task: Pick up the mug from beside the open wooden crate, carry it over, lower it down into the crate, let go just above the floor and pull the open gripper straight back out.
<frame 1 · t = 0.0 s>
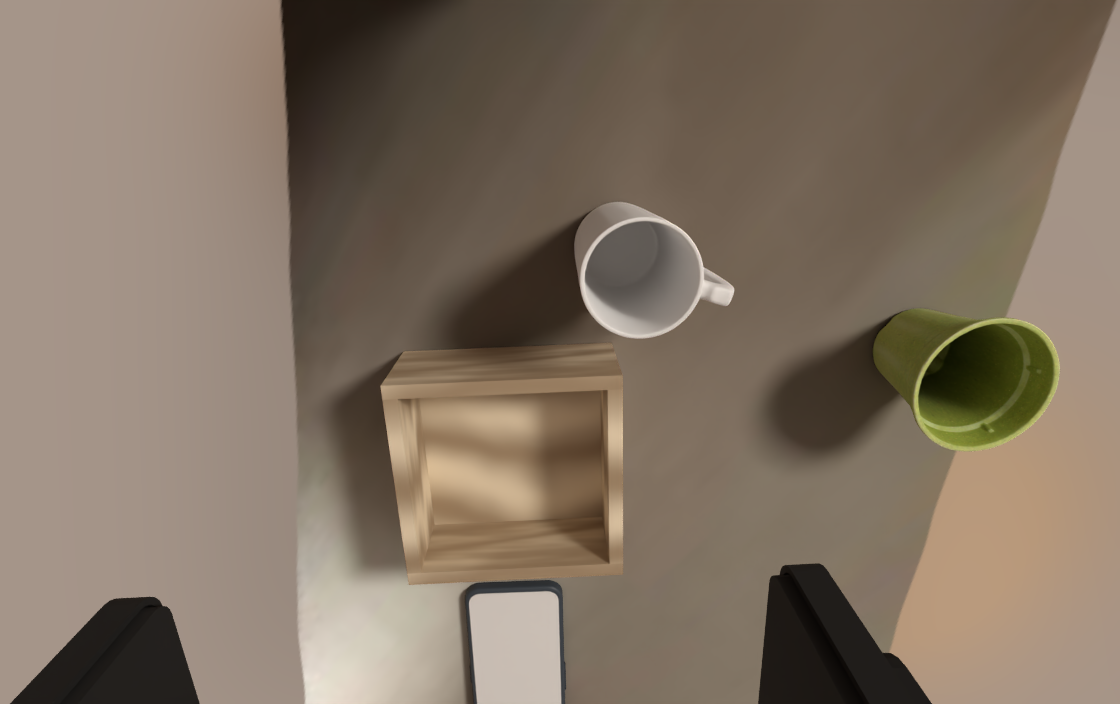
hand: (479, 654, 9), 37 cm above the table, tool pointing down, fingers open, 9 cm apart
plant pot: (908, 345, 48), on the table
smartphone: (517, 646, 57), on the table
open wooden crate: (513, 440, 49), on the table
mug: (637, 250, 45), on the table
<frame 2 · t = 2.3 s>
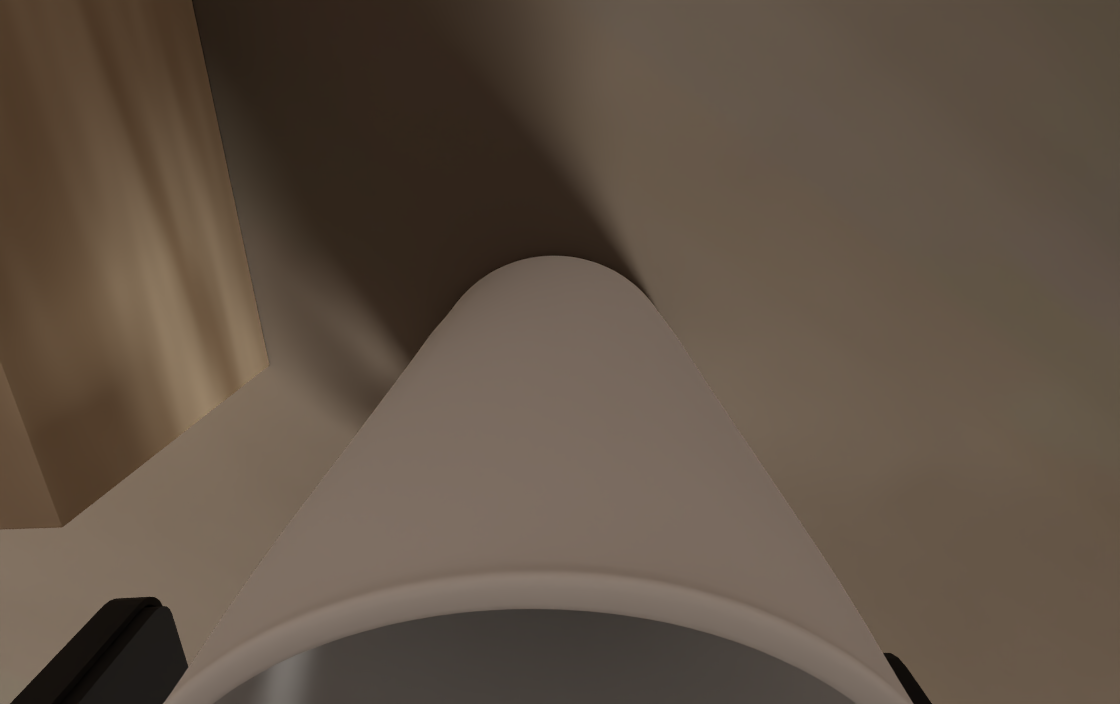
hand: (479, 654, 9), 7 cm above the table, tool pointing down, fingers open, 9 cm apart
mug: (539, 421, 17), on the table
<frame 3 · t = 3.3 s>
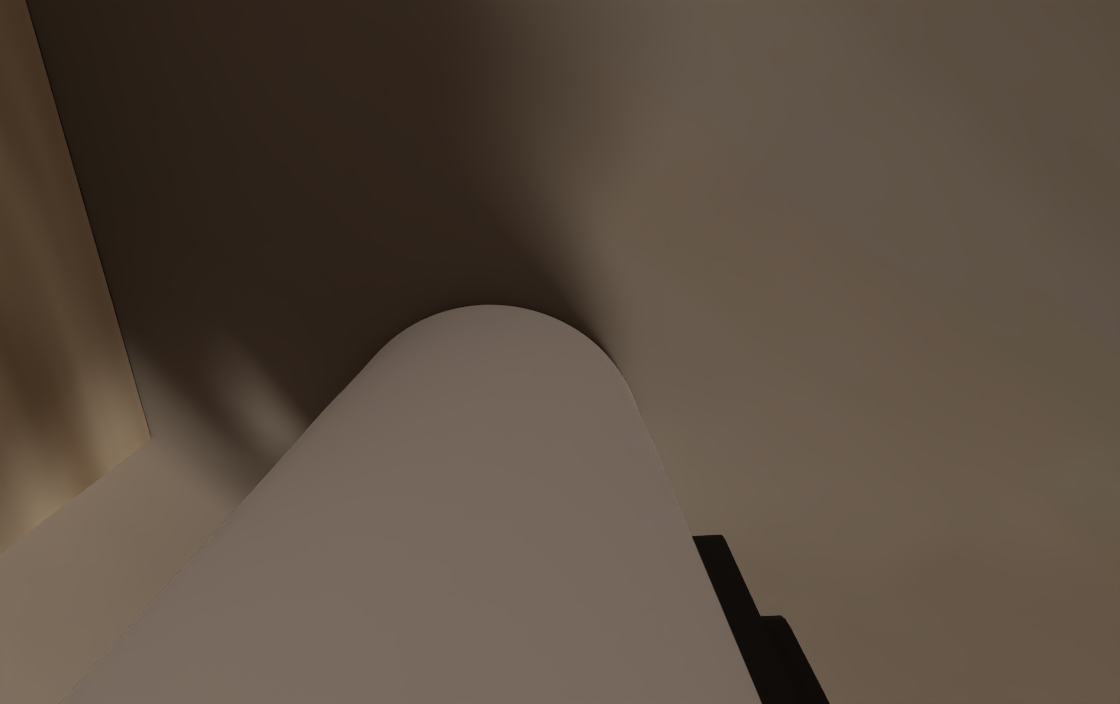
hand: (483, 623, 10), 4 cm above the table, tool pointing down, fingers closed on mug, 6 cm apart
mug: (480, 500, 14), on the table, touching gripper
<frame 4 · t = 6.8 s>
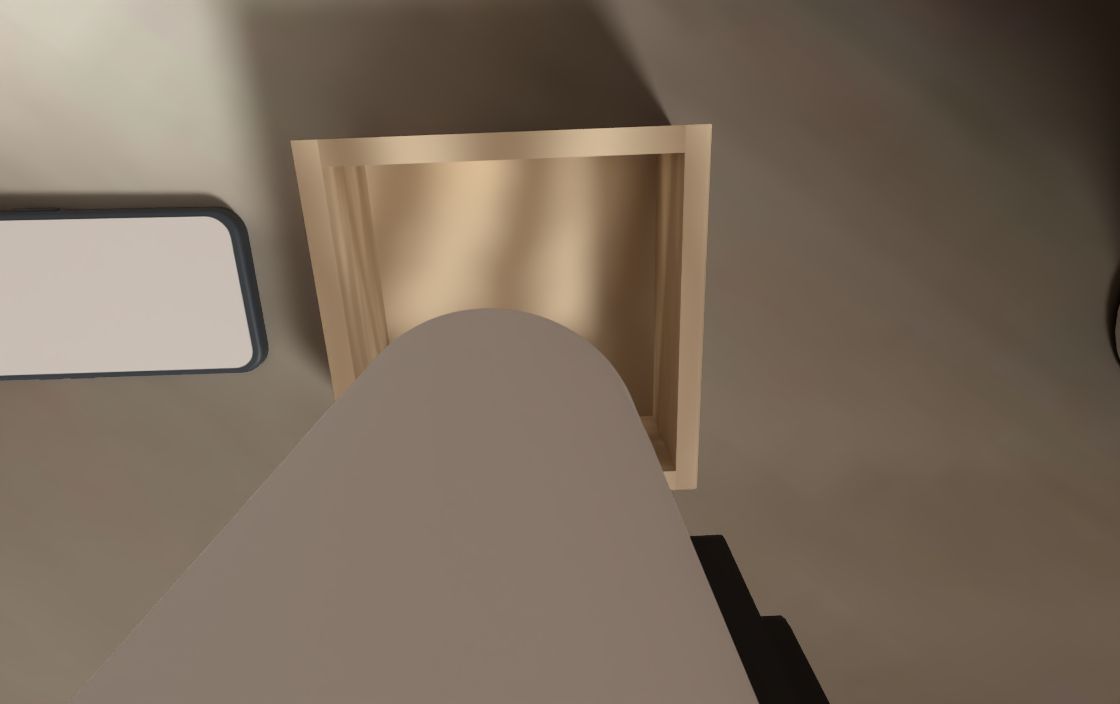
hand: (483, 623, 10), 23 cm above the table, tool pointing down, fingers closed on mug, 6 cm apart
smartphone: (111, 291, 32), on the table
open wooden crate: (520, 294, 32), on the table
mug: (479, 503, 14), point 20 cm above the table, touching gripper
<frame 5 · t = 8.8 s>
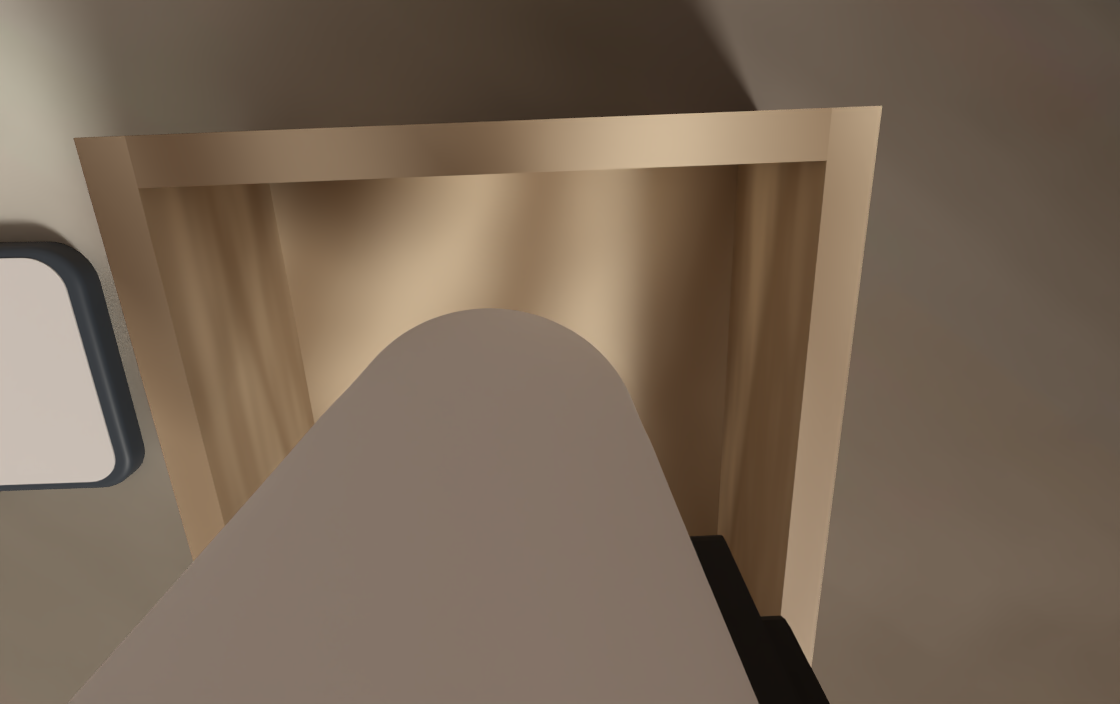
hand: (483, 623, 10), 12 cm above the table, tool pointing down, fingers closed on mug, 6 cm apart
open wooden crate: (519, 372, 21), on the table
mug: (479, 503, 14), point 8 cm above the table, touching gripper
when the fingers open (6 cm above the table, at t = 10.5 s): mug drops 1 cm, resting on open wooden crate.
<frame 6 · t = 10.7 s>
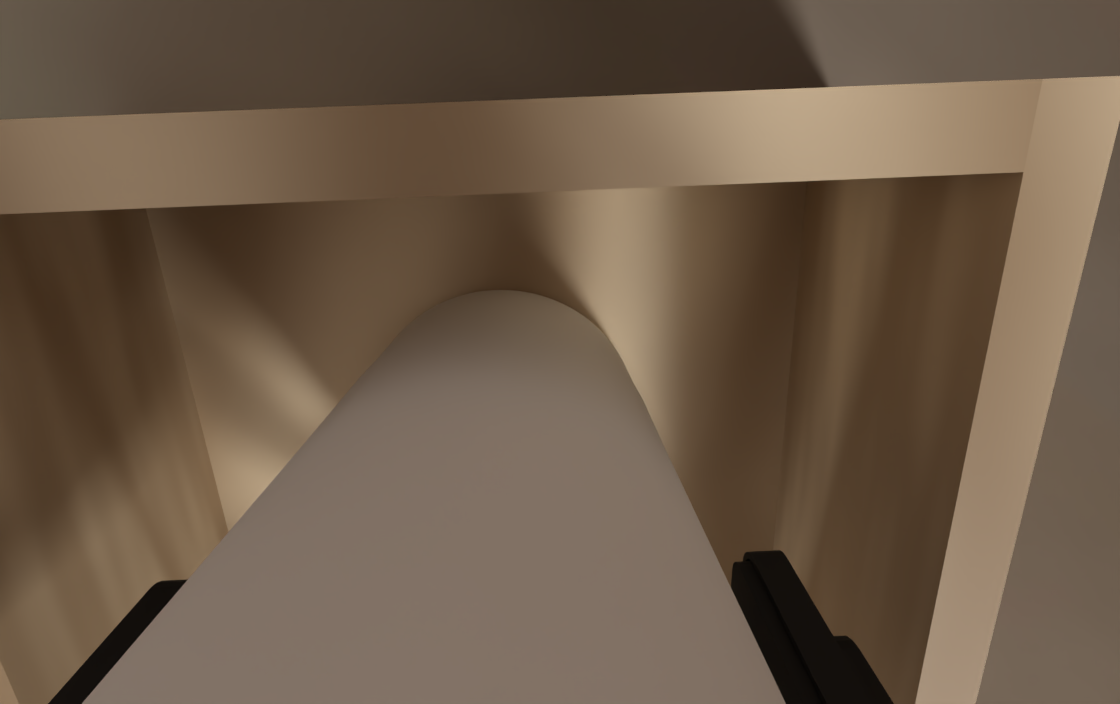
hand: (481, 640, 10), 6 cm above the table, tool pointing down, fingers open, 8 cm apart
open wooden crate: (503, 448, 16), on the table
mug: (490, 468, 15), point 1 cm above the table, touching open wooden crate
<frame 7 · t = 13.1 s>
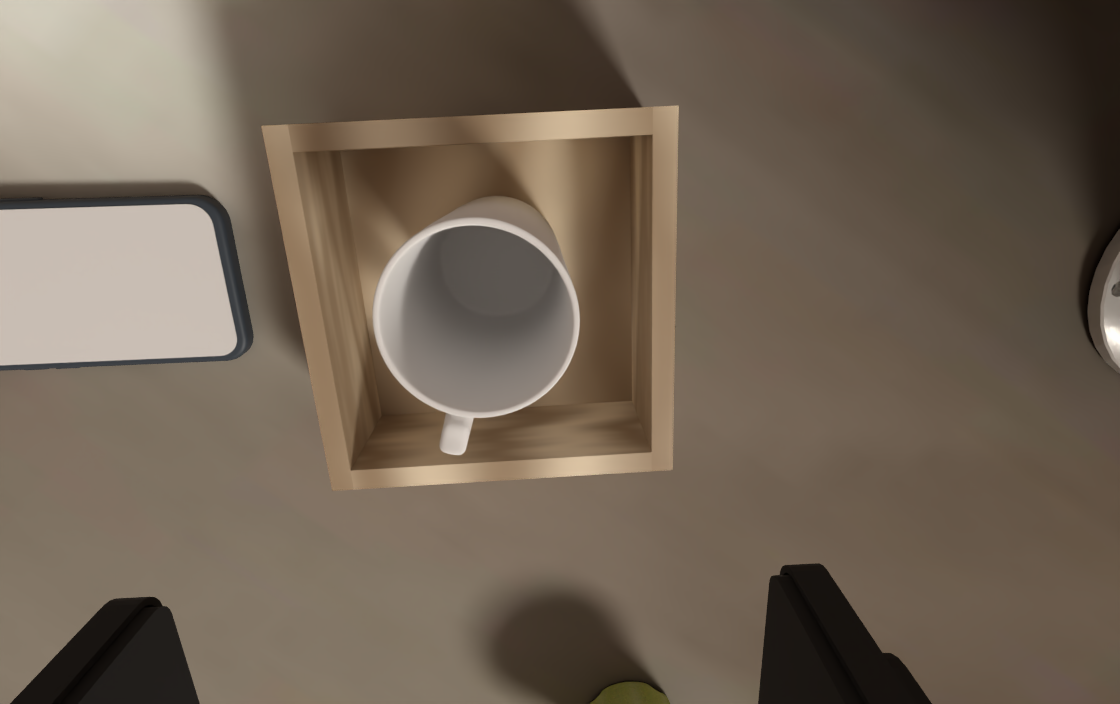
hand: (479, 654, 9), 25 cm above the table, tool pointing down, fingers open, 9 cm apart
smartphone: (95, 280, 32), on the table
open wooden crate: (498, 281, 32), on the table
mug: (492, 286, 32), point 1 cm above the table, touching open wooden crate
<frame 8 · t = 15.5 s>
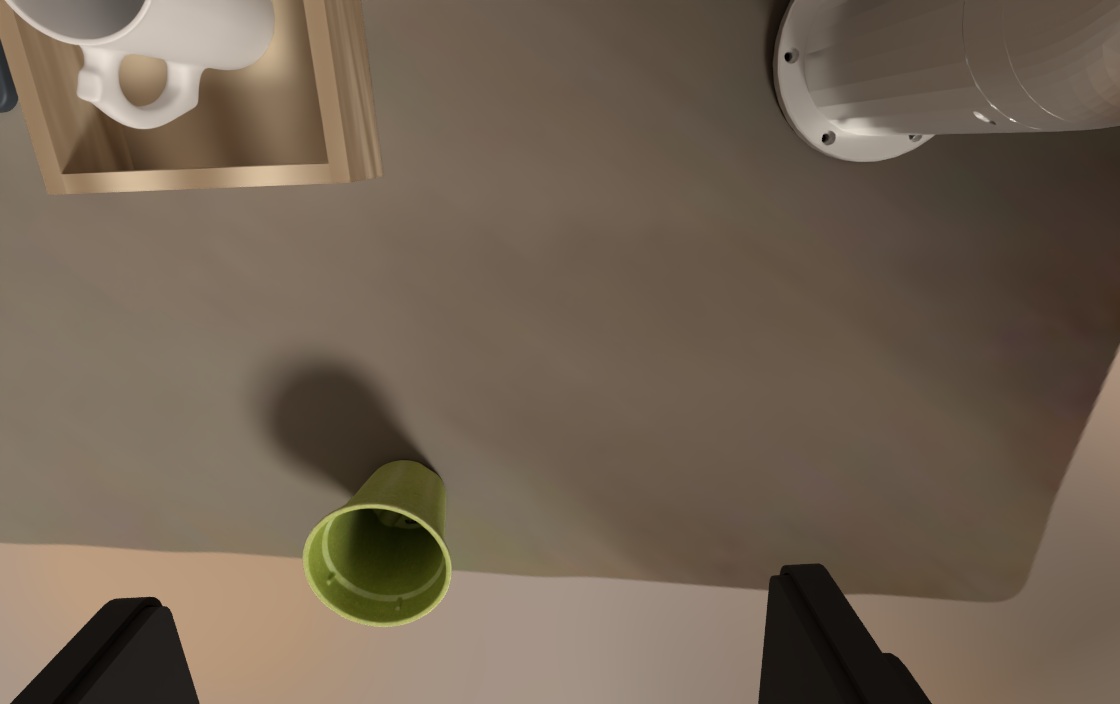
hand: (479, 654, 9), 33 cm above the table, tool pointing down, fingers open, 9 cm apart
plant pot: (406, 492, 47), on the table
open wooden crate: (231, 42, 36), on the table
mug: (220, 42, 35), point 1 cm above the table, touching open wooden crate
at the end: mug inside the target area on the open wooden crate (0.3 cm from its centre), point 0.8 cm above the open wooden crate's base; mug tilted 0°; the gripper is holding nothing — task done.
